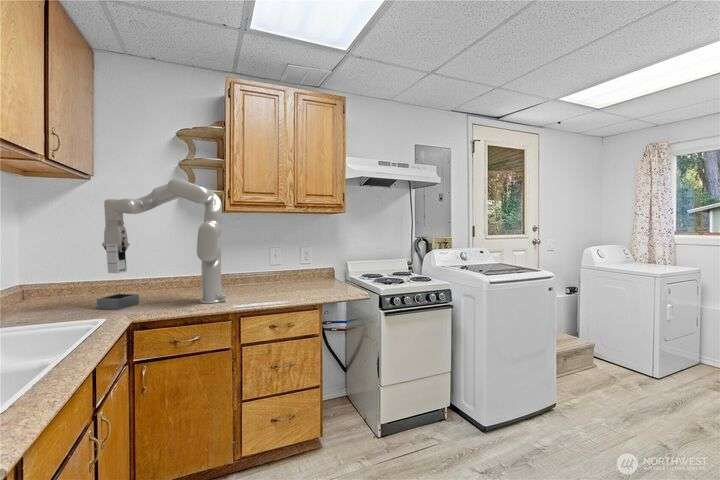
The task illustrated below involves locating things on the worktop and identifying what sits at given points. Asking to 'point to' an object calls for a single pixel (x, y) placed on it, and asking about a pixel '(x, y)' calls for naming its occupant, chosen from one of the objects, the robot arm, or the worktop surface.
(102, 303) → the grey square tray
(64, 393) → the worktop surface
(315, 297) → the worktop surface
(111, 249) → the syrup box
